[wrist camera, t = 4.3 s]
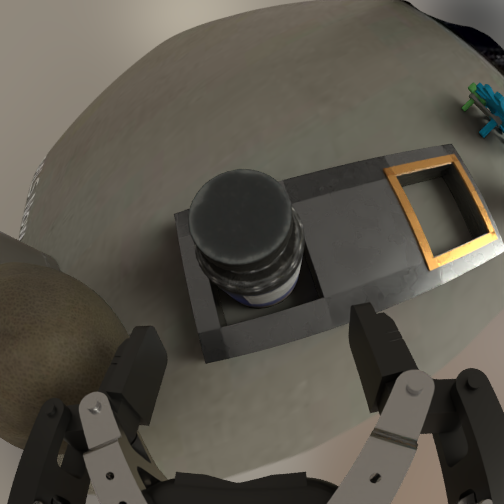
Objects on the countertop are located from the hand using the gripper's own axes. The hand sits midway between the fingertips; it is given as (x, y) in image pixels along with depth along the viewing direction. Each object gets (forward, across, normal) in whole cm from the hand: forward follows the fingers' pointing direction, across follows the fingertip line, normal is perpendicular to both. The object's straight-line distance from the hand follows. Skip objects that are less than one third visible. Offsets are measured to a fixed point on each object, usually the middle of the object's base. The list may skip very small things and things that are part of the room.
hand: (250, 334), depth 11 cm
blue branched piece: (+22, -34, -6) cm, 41 cm away
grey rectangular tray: (+12, -8, +3) cm, 15 cm away
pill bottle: (+11, 0, +4) cm, 12 cm away
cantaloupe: (+7, +16, +9) cm, 19 cm away
